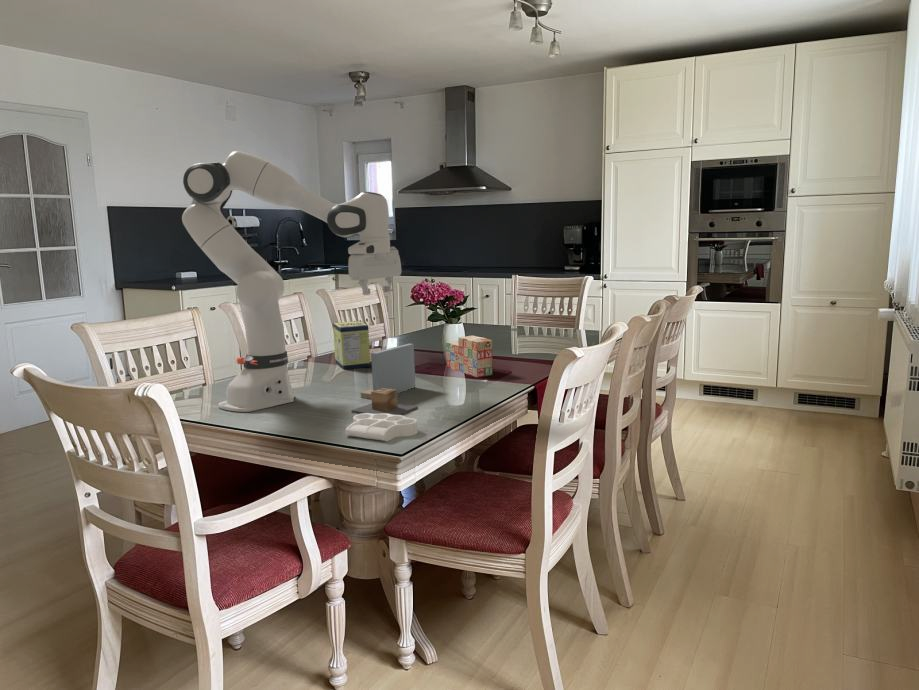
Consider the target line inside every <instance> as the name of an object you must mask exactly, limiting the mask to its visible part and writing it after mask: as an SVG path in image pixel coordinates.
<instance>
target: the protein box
mask: <svg viewBox="0 0 919 690" xmlns="http://www.w3.org/2000/svg"><path fill="white" fill-rule="evenodd" d="M332 327H333V328H332V329H333V332H332V333H333V346H334V360H335V361H334V362H336V363H335V364H337V365H338V366H339V367H340V368H341V369H342V370H343V369H344V370H352V369H362V368H371V354H370V353H371V351H370V349H371V348H370V334H369V331H370V330H369V325H368V324H366V323H364V322H362V321H359V320H354V321H341V322H340V321H339V322H332Z"/></svg>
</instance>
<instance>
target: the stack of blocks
mask: <svg viewBox="0 0 919 690" xmlns="http://www.w3.org/2000/svg"><path fill="white" fill-rule="evenodd" d="M457 339H458V340H453V341H448V342H447V341H446V342H445V351H446V352H445V354H446V355H445V357H446V367H447V368H449V369H452V370H455V371H458V372H460V373H464V374H466V375H469V376H472V377H474V378H481V377H488V376H493V340H492V339H489V338H486V337H483V336H482V337H480V336H477V335H468V336H459V337H458V338H457Z"/></svg>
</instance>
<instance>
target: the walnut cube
mask: <svg viewBox="0 0 919 690" xmlns="http://www.w3.org/2000/svg"><path fill="white" fill-rule="evenodd" d="M371 396H372V399H371V403H372V409H374V410H380V411H389V410H392V409H394V408H397V407H398V405H397V403H398V394H397V390H395V389H387V388H381V389H378V390H375V391H372V392H371Z"/></svg>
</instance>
